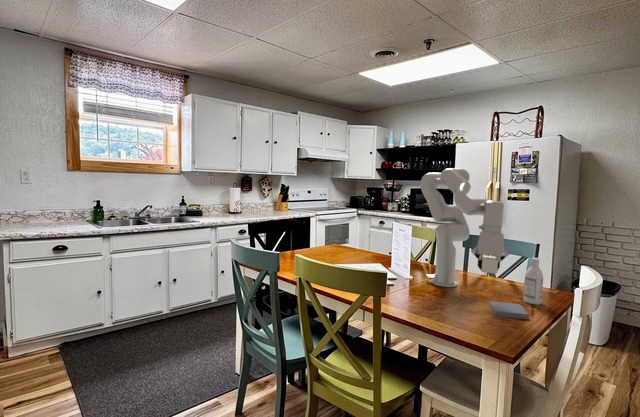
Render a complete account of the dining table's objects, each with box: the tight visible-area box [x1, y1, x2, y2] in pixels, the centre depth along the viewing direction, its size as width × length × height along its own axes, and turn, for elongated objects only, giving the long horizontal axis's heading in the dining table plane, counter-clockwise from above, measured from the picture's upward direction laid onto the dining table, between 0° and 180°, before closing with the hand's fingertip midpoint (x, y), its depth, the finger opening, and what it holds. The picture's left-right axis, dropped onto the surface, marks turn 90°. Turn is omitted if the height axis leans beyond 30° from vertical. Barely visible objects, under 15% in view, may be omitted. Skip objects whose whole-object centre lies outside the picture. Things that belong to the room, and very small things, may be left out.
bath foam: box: [523, 257, 544, 305], centre depth 160 cm, size 7×7×20 cm
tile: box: [488, 301, 530, 320], centre depth 147 cm, size 12×12×2 cm
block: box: [479, 255, 498, 274], centre depth 158 cm, size 6×6×6 cm
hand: (488, 268), depth 158 cm, fingers closed on block, 6 cm apart
